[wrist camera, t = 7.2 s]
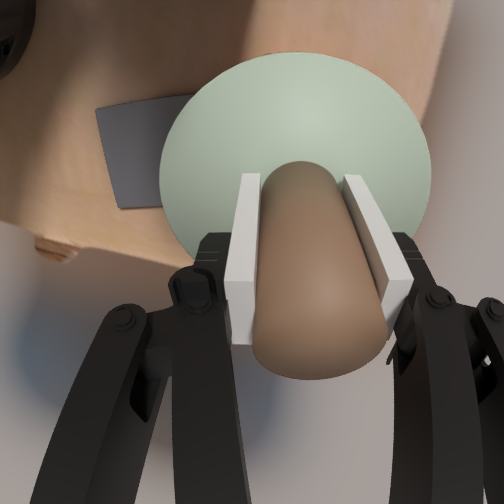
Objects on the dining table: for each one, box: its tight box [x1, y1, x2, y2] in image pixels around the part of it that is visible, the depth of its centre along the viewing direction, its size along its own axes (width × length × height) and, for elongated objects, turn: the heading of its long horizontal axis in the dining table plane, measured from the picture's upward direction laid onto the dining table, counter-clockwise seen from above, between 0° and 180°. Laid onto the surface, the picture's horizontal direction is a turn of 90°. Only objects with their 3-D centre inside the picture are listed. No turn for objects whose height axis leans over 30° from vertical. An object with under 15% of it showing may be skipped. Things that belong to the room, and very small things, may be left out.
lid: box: [159, 52, 431, 380], centre depth 12 cm, size 13×13×10 cm
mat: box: [95, 94, 195, 208], centre depth 31 cm, size 12×12×1 cm
